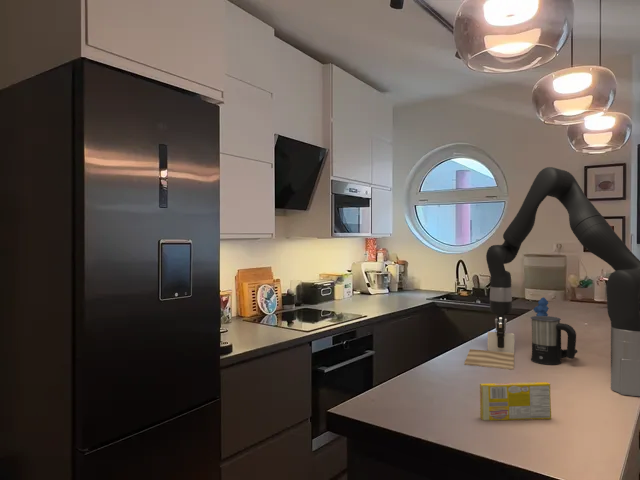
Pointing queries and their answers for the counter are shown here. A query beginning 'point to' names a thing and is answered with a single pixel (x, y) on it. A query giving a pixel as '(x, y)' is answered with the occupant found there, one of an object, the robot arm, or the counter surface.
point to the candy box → (515, 401)
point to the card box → (507, 342)
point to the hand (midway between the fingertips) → (500, 346)
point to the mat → (490, 359)
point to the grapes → (541, 307)
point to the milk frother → (551, 340)
